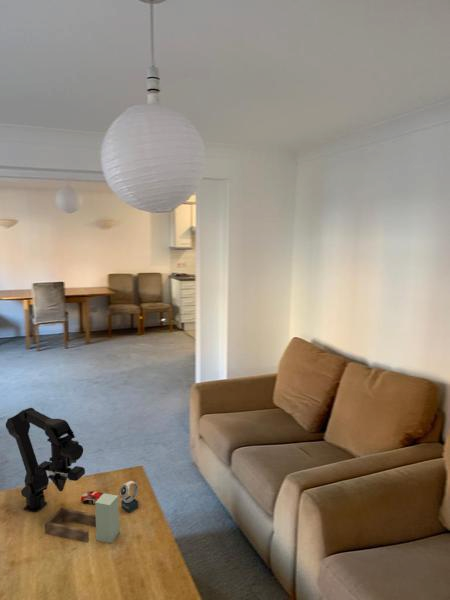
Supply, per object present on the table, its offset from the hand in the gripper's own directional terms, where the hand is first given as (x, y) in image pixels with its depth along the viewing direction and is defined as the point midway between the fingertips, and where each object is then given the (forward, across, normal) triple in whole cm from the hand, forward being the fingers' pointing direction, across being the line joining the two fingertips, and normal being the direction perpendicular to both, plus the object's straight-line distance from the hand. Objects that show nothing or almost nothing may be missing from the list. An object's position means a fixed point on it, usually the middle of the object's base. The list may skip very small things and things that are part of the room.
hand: (61, 490), depth 168 cm
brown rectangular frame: (+12, -8, +4) cm, 15 cm away
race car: (+12, -6, -14) cm, 20 cm away
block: (+12, -23, +4) cm, 26 cm away
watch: (+12, -22, -14) cm, 29 cm away
